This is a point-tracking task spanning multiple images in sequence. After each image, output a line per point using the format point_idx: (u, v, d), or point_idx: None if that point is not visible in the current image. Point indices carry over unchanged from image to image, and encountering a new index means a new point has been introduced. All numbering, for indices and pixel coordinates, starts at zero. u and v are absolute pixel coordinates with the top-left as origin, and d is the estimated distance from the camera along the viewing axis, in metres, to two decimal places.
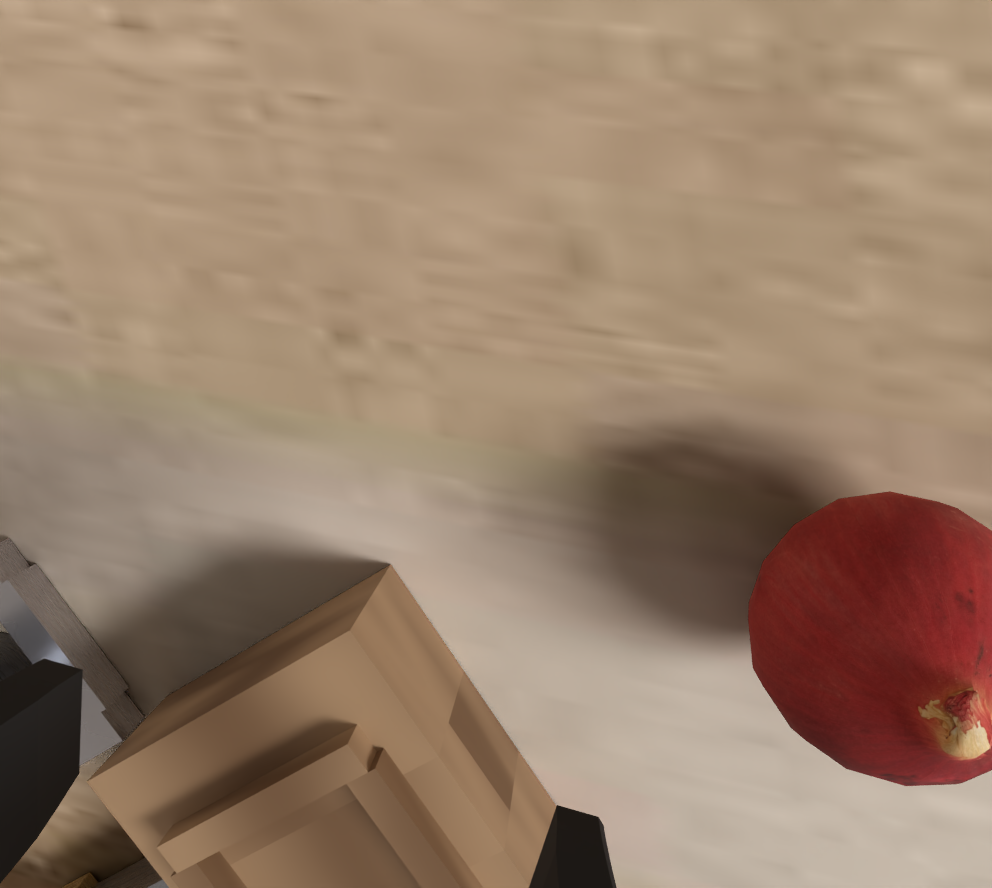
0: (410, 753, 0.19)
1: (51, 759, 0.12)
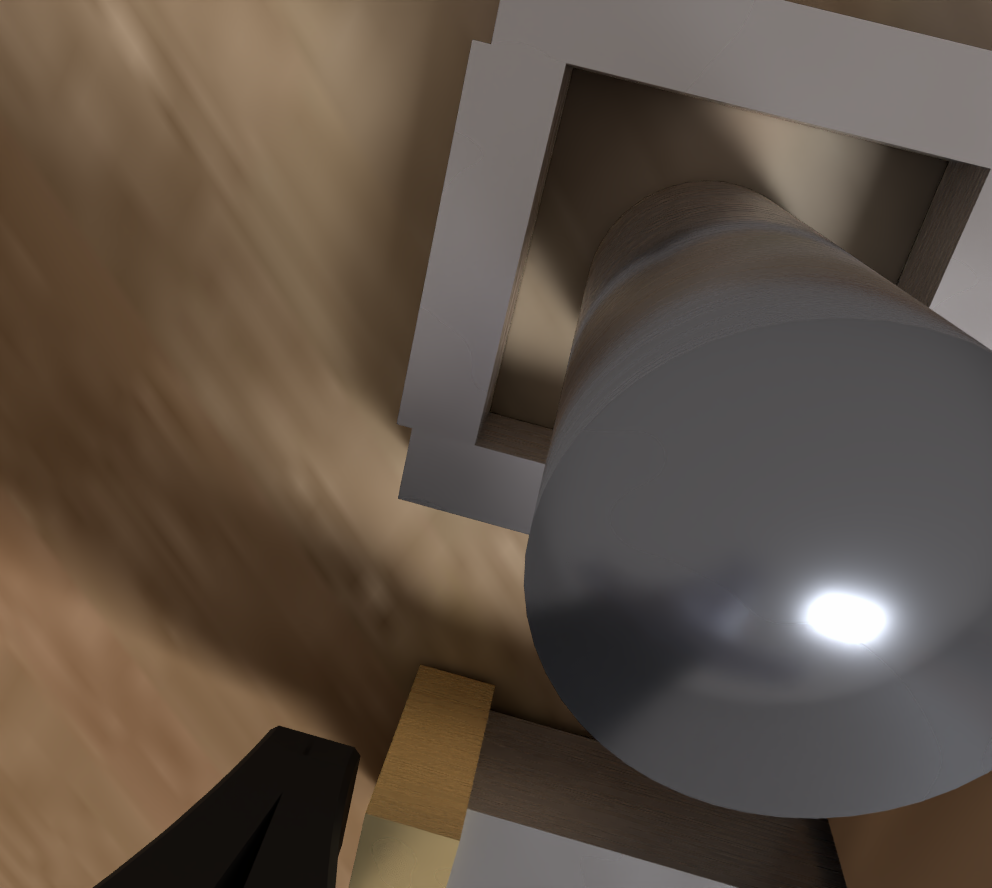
0: None
1: None
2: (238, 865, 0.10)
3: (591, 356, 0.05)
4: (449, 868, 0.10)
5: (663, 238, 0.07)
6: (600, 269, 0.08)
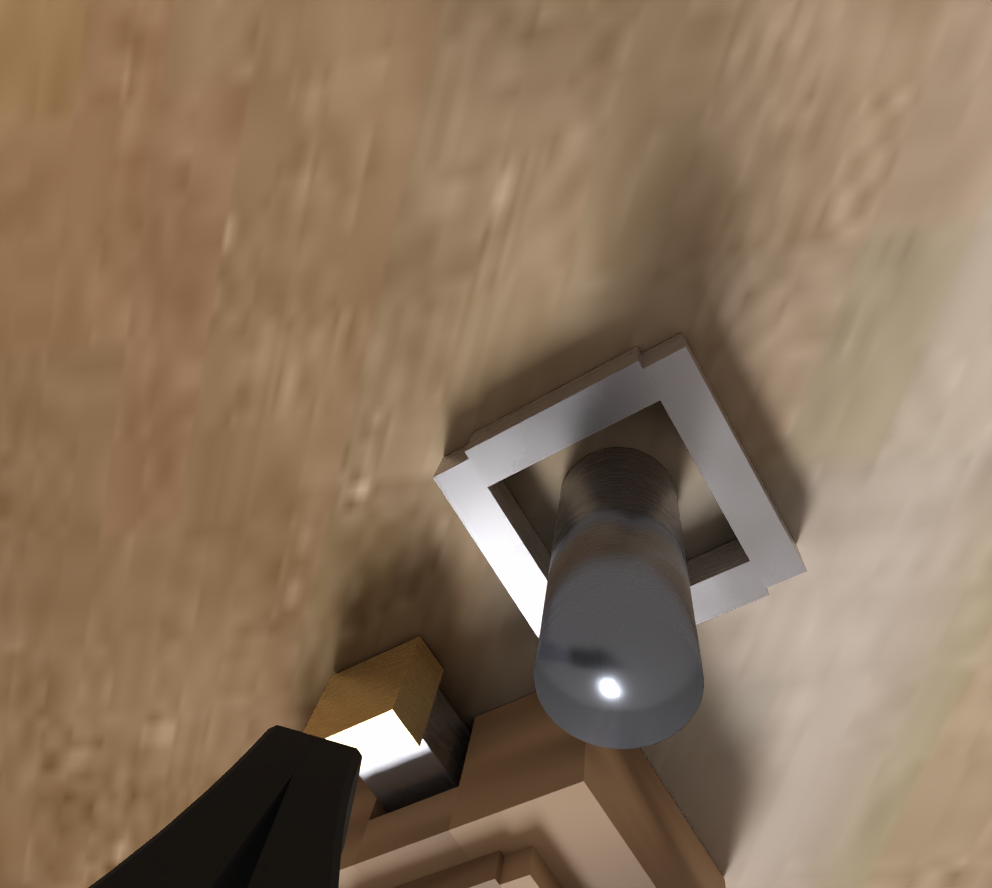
0: None
1: None
2: (235, 863, 0.10)
3: (609, 568, 0.15)
4: (403, 753, 0.20)
5: (643, 520, 0.17)
6: (607, 489, 0.18)
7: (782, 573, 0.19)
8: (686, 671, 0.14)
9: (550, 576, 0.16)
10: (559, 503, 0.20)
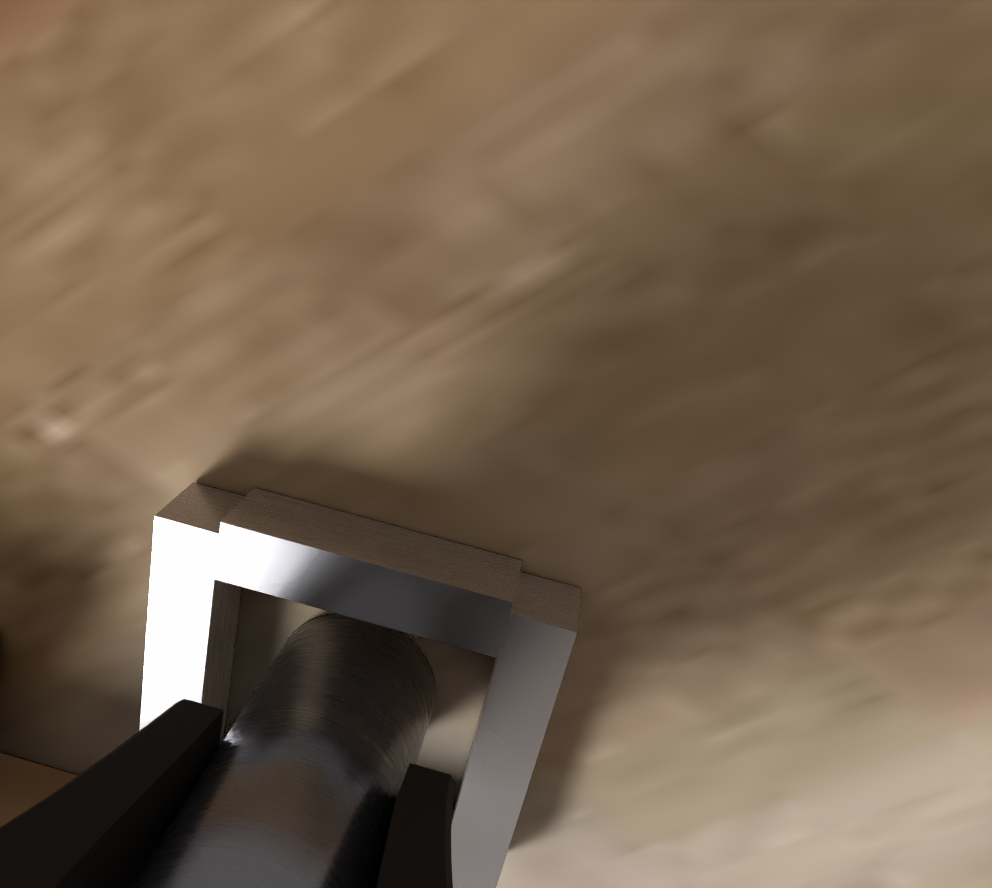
0: None
1: None
2: (120, 830, 0.10)
3: None
4: None
5: (363, 826, 0.11)
6: (352, 724, 0.12)
7: None
8: None
9: (185, 835, 0.10)
10: (286, 654, 0.13)
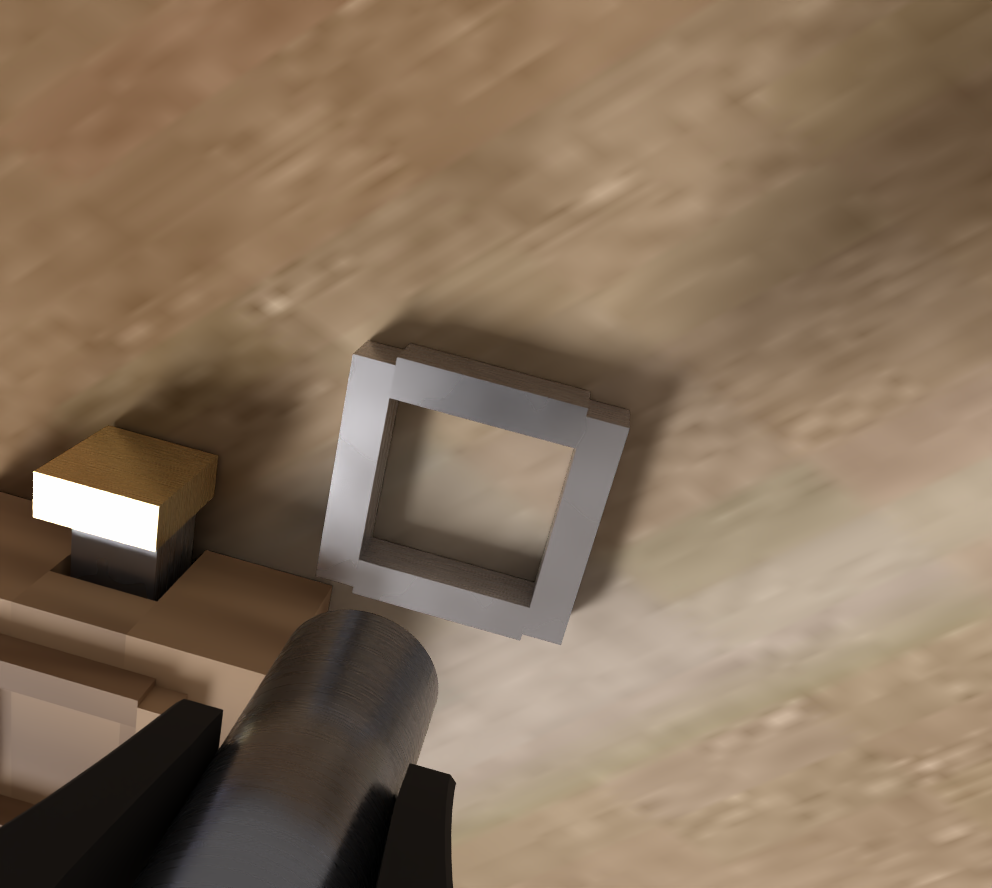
0: None
1: None
2: (120, 830, 0.10)
3: None
4: (135, 545, 0.20)
5: (366, 819, 0.11)
6: (355, 718, 0.12)
7: (543, 633, 0.21)
8: None
9: (191, 827, 0.10)
10: (290, 650, 0.14)
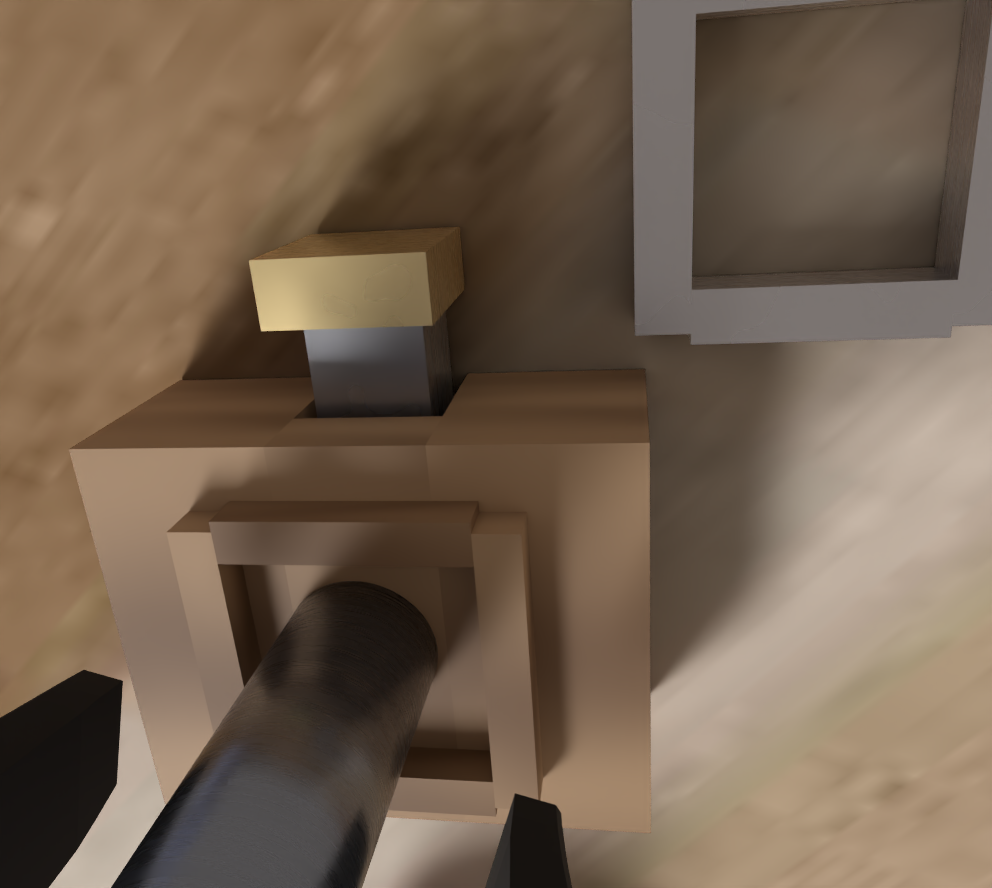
0: None
1: (91, 771, 0.12)
2: None
3: (289, 864, 0.10)
4: (404, 325, 0.14)
5: (374, 772, 0.12)
6: (366, 680, 0.13)
7: (985, 314, 0.14)
8: None
9: (215, 767, 0.11)
10: (302, 615, 0.14)
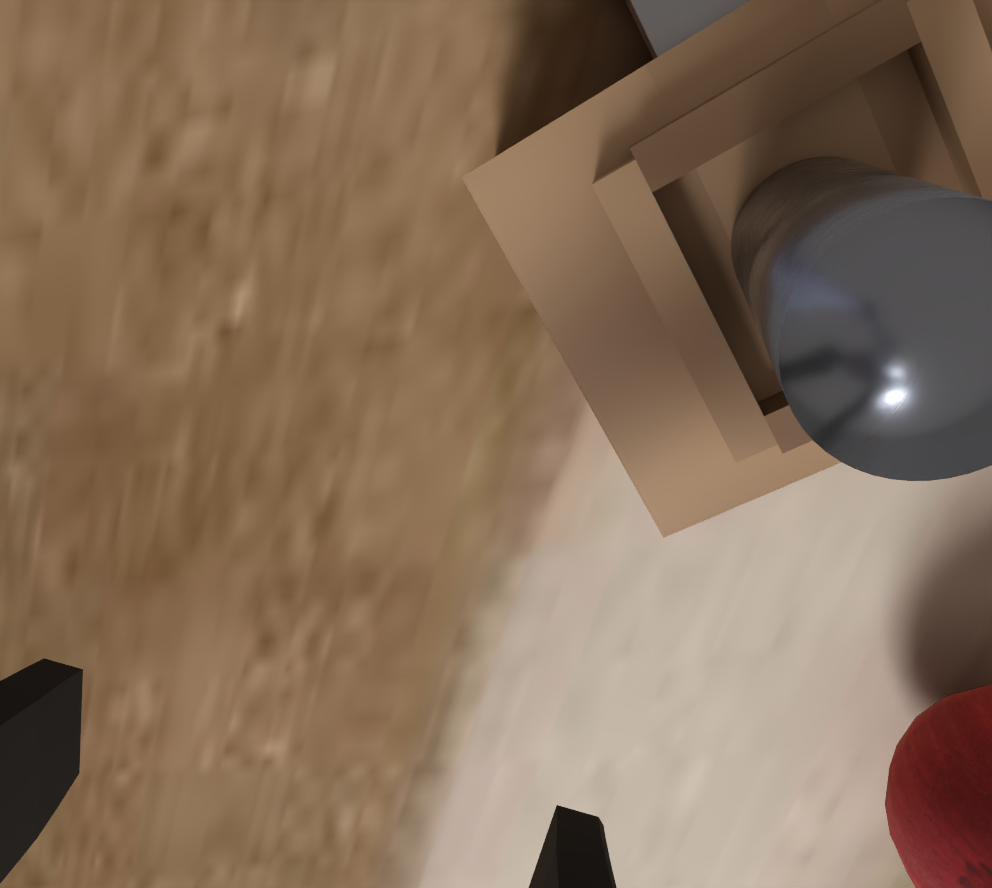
0: None
1: (51, 759, 0.12)
2: None
3: (952, 189, 0.09)
4: None
5: None
6: (873, 167, 0.12)
7: None
8: None
9: (797, 215, 0.10)
10: (754, 200, 0.14)
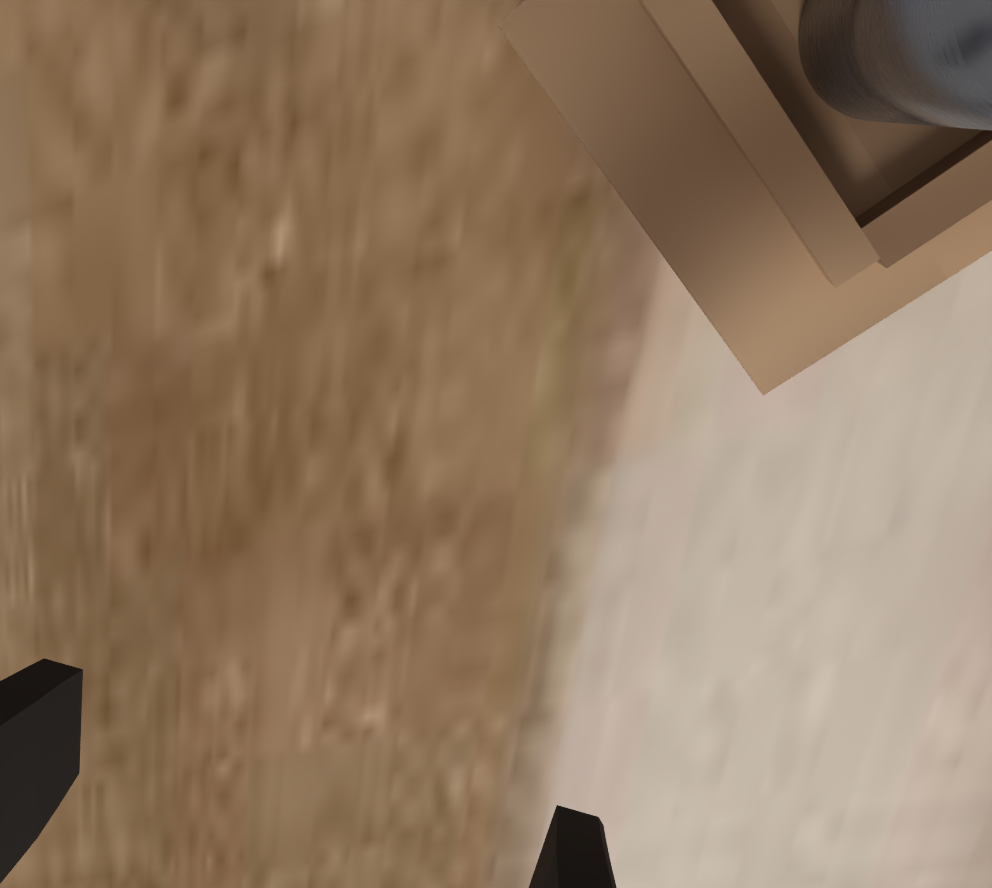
0: None
1: (51, 759, 0.12)
2: None
3: None
4: None
5: None
6: None
7: None
8: None
9: None
10: None
